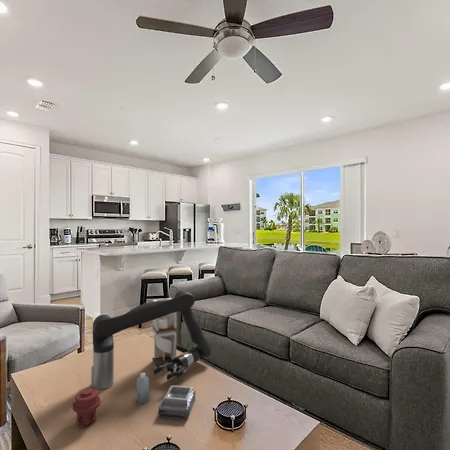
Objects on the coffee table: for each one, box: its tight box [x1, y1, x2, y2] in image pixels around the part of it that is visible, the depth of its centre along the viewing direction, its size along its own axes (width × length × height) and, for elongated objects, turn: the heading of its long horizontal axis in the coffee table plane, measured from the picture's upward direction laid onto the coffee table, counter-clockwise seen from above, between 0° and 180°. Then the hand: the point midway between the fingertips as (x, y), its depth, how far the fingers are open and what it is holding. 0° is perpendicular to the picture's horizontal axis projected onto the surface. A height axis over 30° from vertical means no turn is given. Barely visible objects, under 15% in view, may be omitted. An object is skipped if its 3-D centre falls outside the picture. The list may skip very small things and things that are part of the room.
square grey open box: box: [157, 384, 196, 421], centre depth 130 cm, size 12×14×6 cm
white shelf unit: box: [151, 297, 178, 369], centre depth 170 cm, size 11×11×35 cm
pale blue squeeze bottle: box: [136, 372, 150, 405], centre depth 136 cm, size 5×5×12 cm
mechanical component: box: [72, 388, 101, 428], centre depth 121 cm, size 12×10×10 cm
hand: (160, 375), depth 145 cm, fingers open, 8 cm apart
